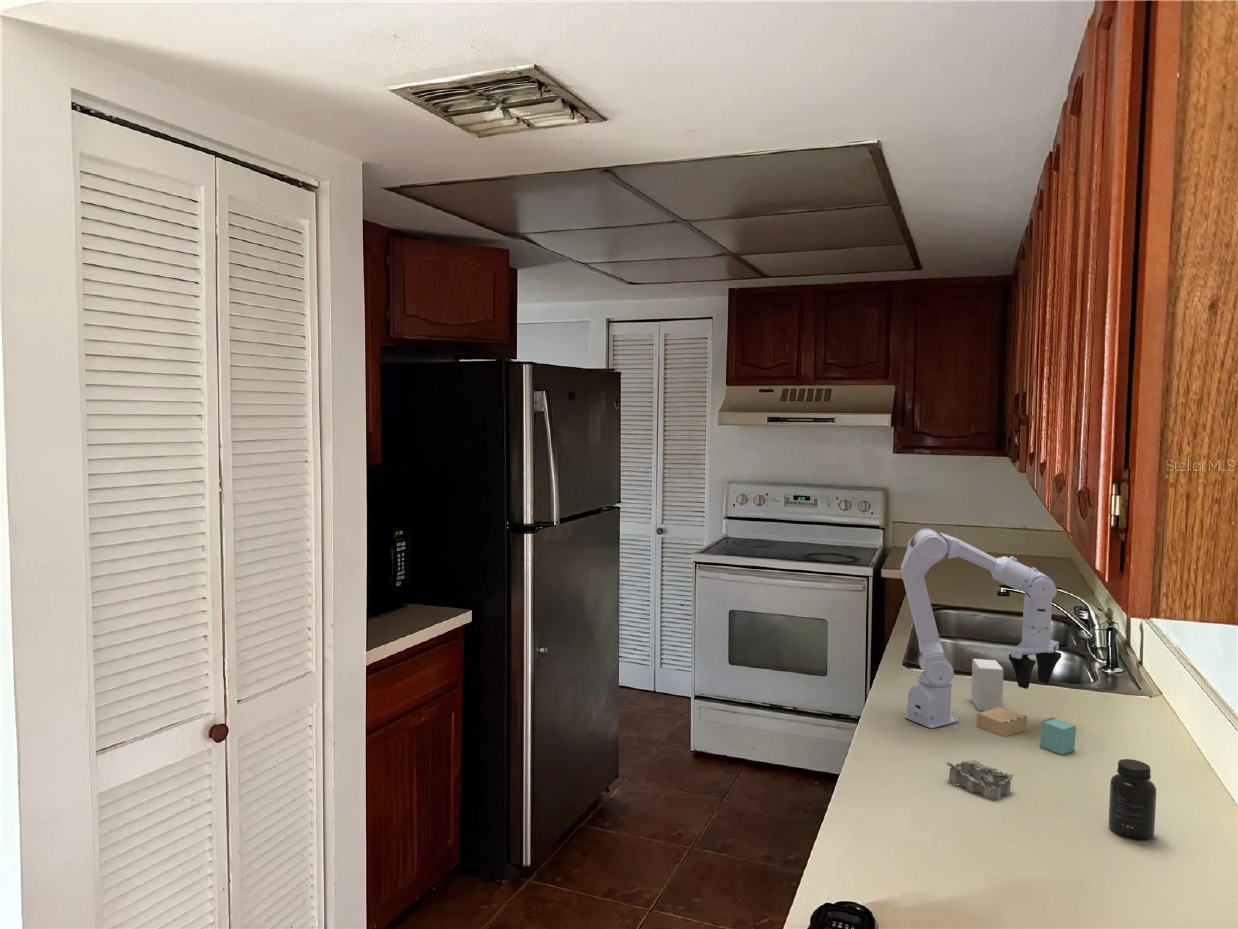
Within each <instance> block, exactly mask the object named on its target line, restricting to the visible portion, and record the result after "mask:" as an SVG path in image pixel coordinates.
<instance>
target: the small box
mask: <svg viewBox="0 0 1238 929" xmlns="http://www.w3.org/2000/svg"><path fill="white" fill-rule="evenodd" d="M971 664H972V666H971V691H970V692H971V693H970V700H971V701H972V703H973V705H974V706H975V708H976V709H977V711H981V712H984V711H988V710H991V709H995V708H999V707H1000V708H1003V697H1004V696H1003V693H1004V672H1005V671H1004V668H1003V667H1002V665H1001V664H999V662H998V661H997V660H995V659H984V658H983V659H982V658H972V663H971Z"/></svg>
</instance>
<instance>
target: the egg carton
mask: <svg viewBox="0 0 1238 929" xmlns="http://www.w3.org/2000/svg"><path fill="white" fill-rule="evenodd" d="M946 765H947V766H949V775H948V780H949V781H950V780H951V781H950V784H952V785H954V784H956V785H955V786H958V785H957V784H960V785H959V786H962V785H963V787H965V788H966V791H969V790H971V791H970V792H972V791H977V792H978V793H980V794H983V797H984V798H985V797H986V799H995V800H1000V799H1001V798H1002V797H1001V796H1002V795H1010V794H1011V784H1012V783H1011V781H1012V780H1013V778H1014V776H1015V774H1014V773H1013V774H1011V773H1009V774H1008V773H1007V772H1005V773H1004V772H1002V770H1000V771H999V770H998V769H997V768H993V767H990V766H987V765H984V764H982V763H981V762H979V761H978V760H974V759H969V760H965V761H963V760H962V761H961V762H960V763H958V762H957V763H956V764H955V765H954V764H953V763H951V762H950V761H949V762H947V763H946ZM970 776H973V779H974V780H972V779H971V778H970Z"/></svg>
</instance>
